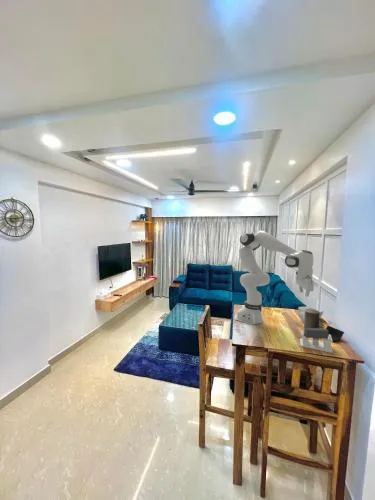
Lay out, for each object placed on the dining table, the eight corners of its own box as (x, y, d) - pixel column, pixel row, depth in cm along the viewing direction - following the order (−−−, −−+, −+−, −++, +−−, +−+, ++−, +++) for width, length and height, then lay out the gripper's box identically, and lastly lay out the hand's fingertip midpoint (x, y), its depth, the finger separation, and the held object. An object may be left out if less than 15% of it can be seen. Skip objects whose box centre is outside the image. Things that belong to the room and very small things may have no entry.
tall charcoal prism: (306, 337, 135) (306, 329, 135) (303, 335, 138) (304, 327, 138) (327, 338, 134) (328, 330, 134) (325, 336, 137) (325, 328, 137)
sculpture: (297, 312, 195) (297, 301, 194) (321, 315, 187) (322, 304, 187) (298, 322, 173) (299, 310, 172) (326, 327, 165) (327, 314, 164)
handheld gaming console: (319, 337, 151) (318, 333, 151) (328, 329, 155) (327, 325, 154) (335, 344, 142) (334, 340, 141) (345, 336, 145) (344, 331, 144)
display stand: (300, 346, 136) (301, 335, 135) (299, 339, 145) (300, 328, 144) (332, 353, 129) (333, 341, 128) (329, 345, 138) (330, 333, 137)
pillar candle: (320, 332, 155) (322, 312, 154) (306, 331, 157) (307, 311, 156) (315, 326, 165) (316, 307, 164) (301, 325, 167) (302, 306, 166)
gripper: (317, 277, 137) (315, 299, 138) (303, 271, 157) (302, 290, 158) (306, 277, 138) (305, 298, 139) (294, 271, 158) (293, 290, 159)
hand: (303, 294), depth 149 cm, fingers open, 8 cm apart
